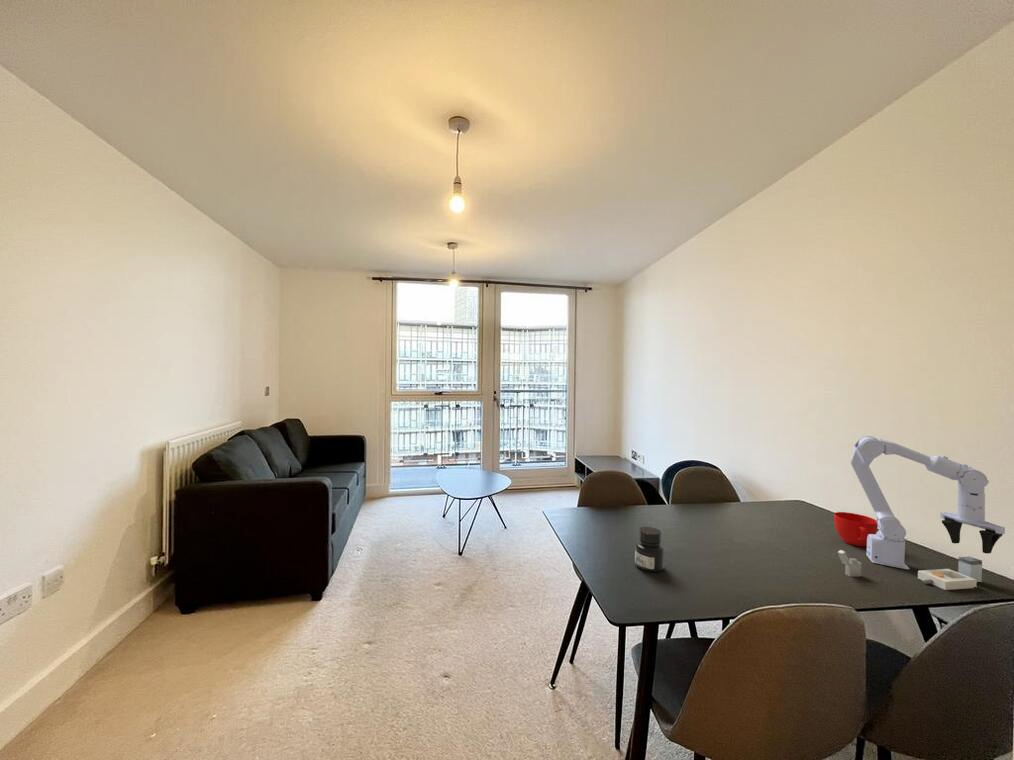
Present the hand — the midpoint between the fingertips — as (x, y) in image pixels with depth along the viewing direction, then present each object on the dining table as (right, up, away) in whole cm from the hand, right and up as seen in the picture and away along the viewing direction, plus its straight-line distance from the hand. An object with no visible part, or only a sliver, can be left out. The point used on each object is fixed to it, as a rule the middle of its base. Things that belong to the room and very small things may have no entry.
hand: (970, 547), depth 126 cm
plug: (0, -11, 0) cm, 11 cm away
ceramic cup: (-13, -10, +26) cm, 31 cm away
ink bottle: (-102, -8, +4) cm, 103 cm away
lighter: (-38, -10, +1) cm, 39 cm away
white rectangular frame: (-11, -10, -2) cm, 15 cm away
